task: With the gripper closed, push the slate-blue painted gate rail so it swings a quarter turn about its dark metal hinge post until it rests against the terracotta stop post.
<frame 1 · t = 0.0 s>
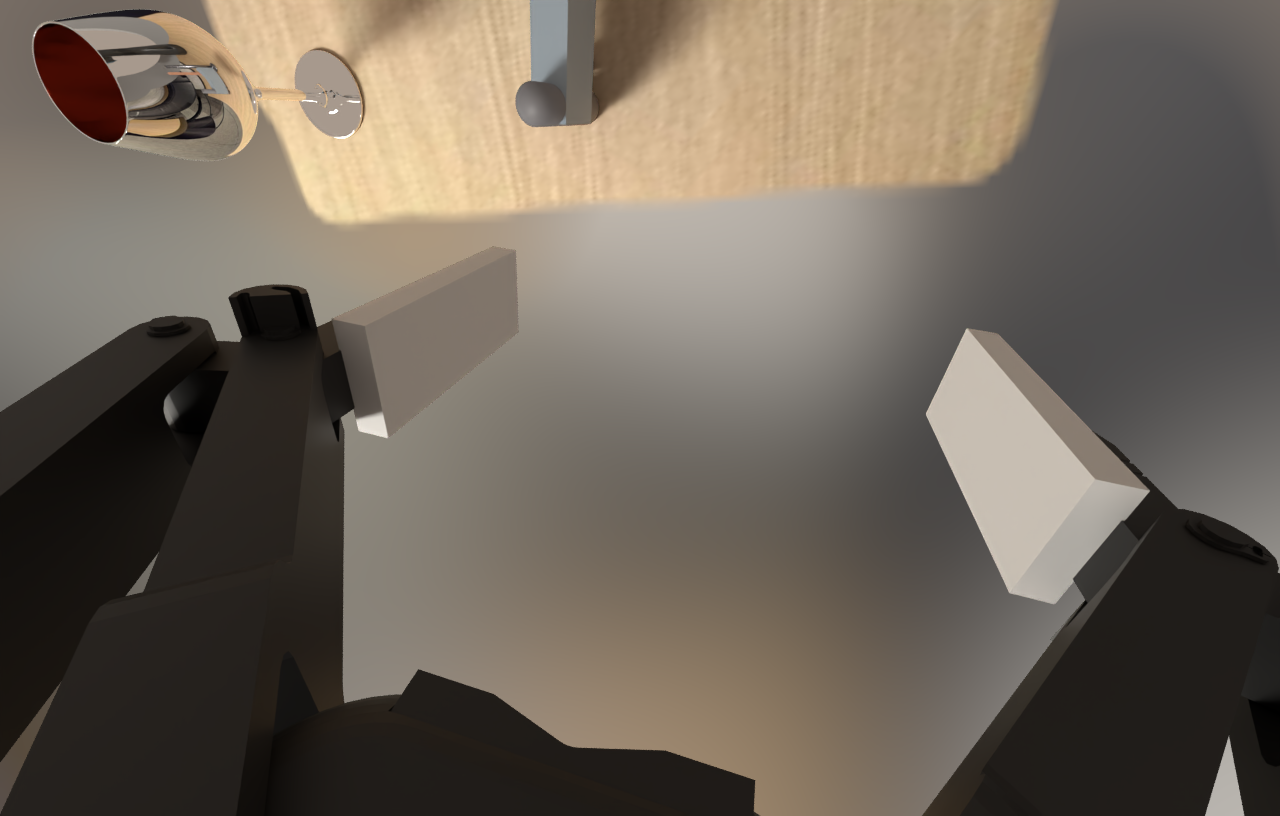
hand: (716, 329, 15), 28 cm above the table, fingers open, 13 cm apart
wineglass: (331, 96, 43), on the table
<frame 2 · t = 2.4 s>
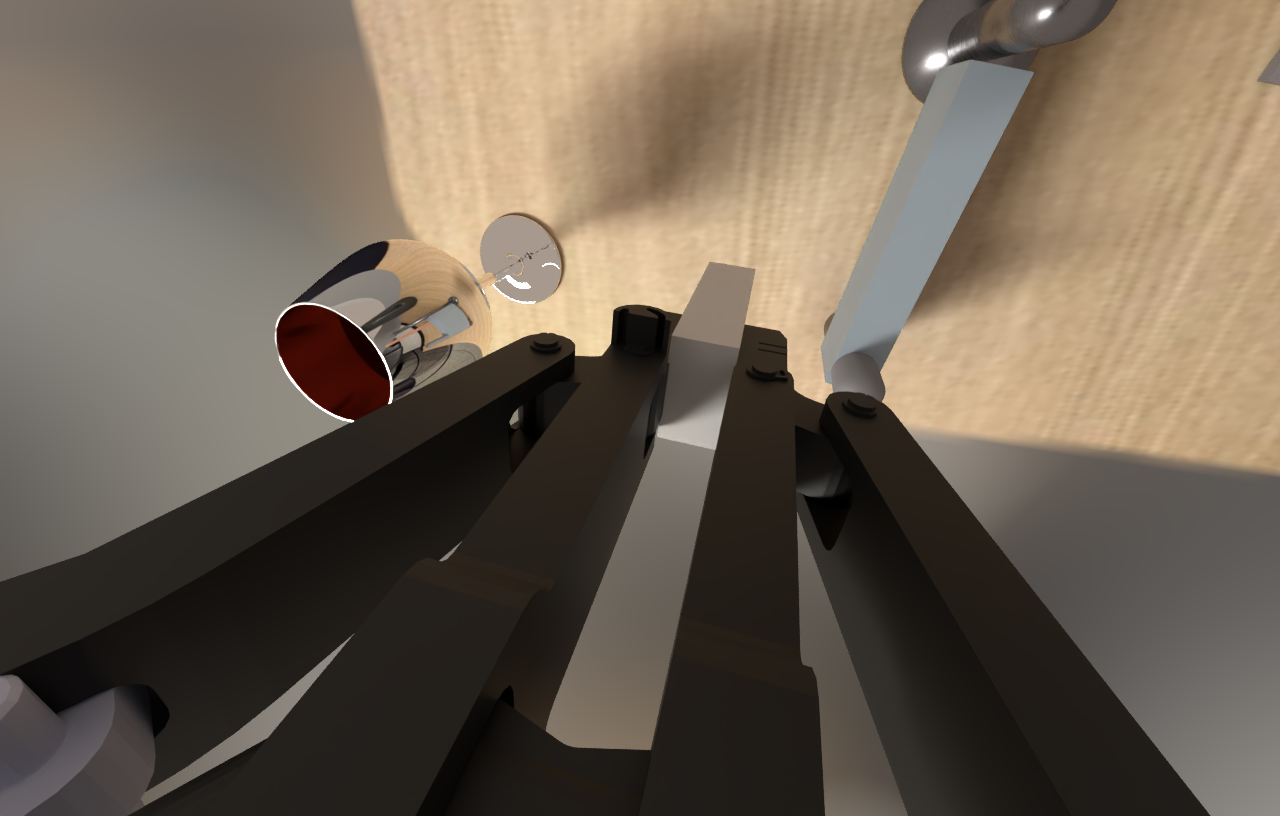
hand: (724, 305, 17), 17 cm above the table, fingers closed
hinge post: (969, 39, 24), on the table
wineglass: (522, 260, 37), on the table
gate: (901, 246, 25), point 5 cm above the table, hinge at 0.0°
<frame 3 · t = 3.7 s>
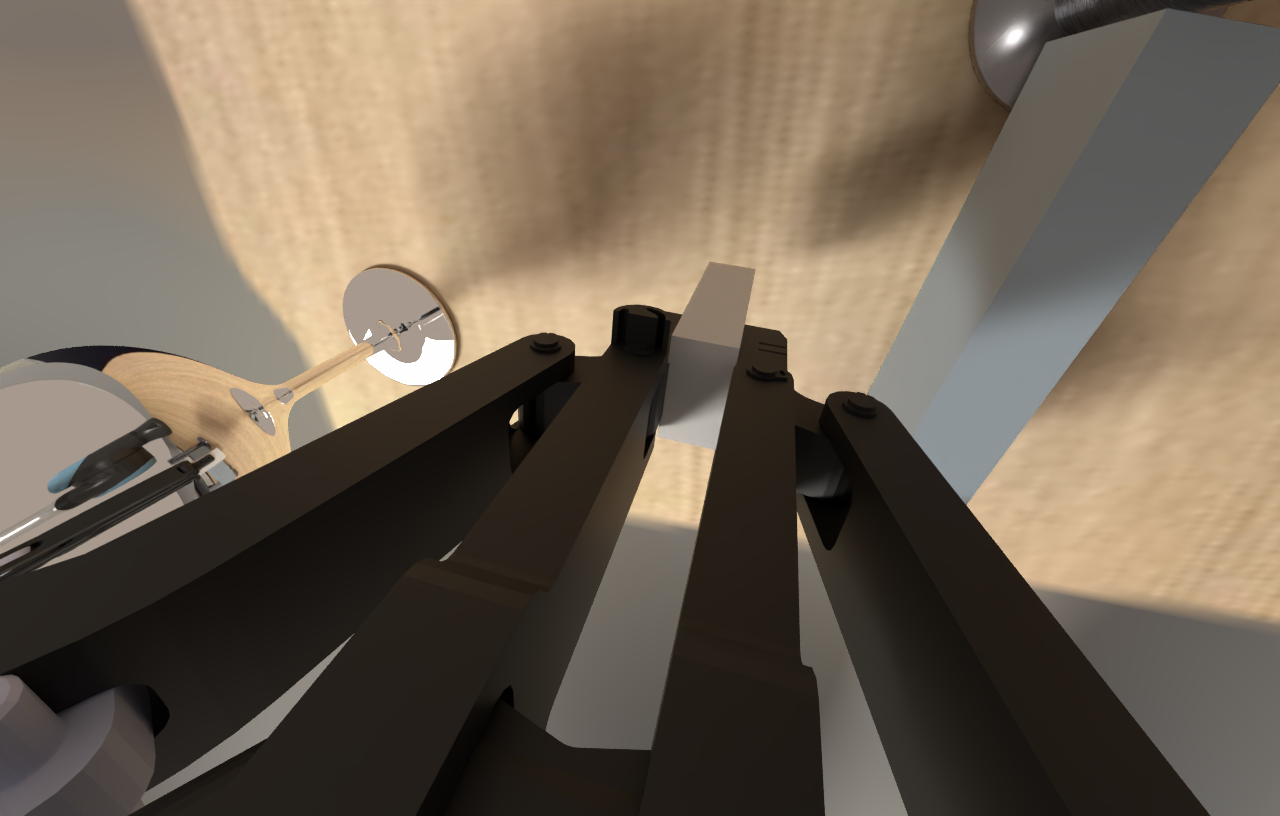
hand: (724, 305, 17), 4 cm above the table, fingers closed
wineglass: (403, 328, 26), on the table
gate: (971, 351, 15), point 5 cm above the table, hinge at 0.0°
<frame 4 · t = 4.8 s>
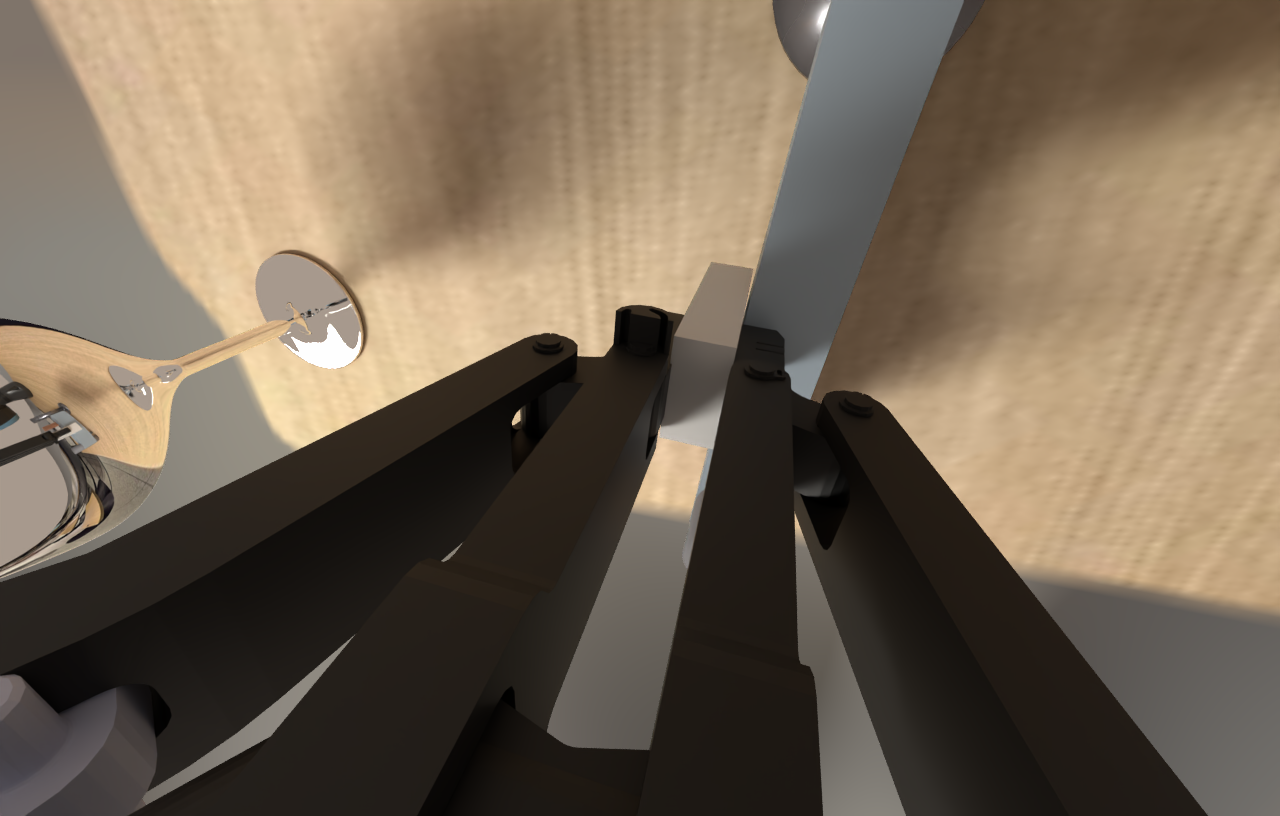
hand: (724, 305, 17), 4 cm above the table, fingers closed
wineglass: (314, 312, 27), on the table
gate: (784, 316, 16), point 5 cm above the table, hinge at 1.5°, touching gripper
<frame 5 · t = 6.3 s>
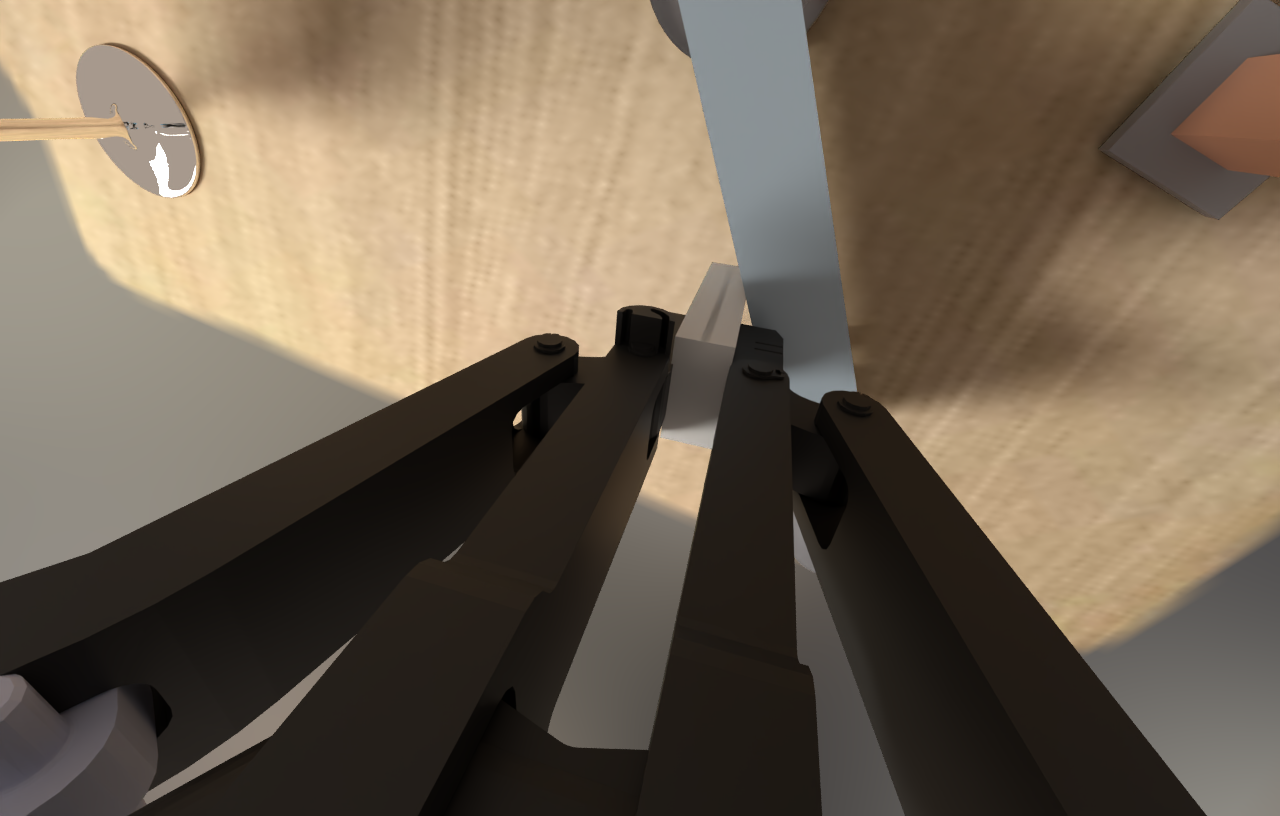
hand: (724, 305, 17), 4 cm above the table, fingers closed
stop post: (1222, 116, 14), on the table
wineglass: (146, 126, 24), on the table
gate: (795, 282, 15), point 5 cm above the table, hinge at 45.3°, touching gripper
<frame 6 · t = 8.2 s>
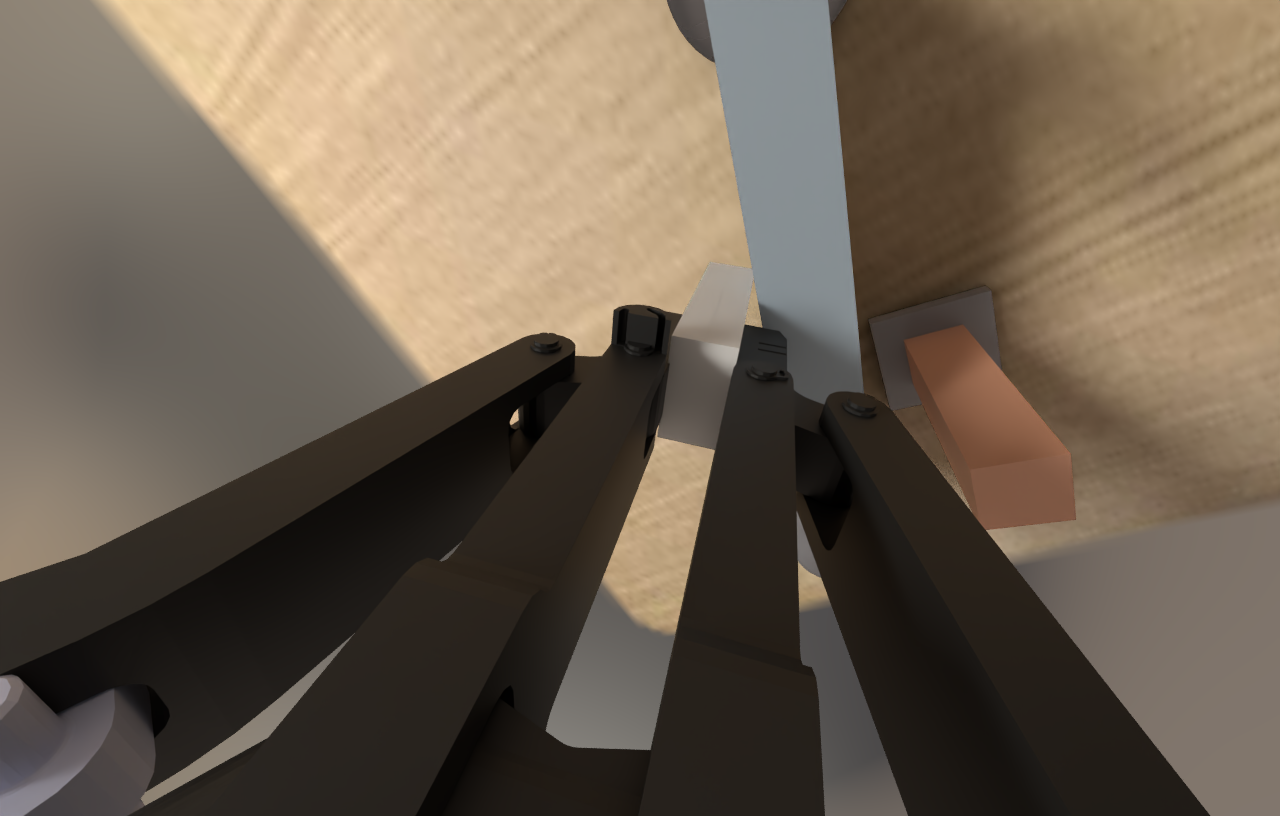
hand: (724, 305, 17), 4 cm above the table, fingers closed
stop post: (933, 349, 20), on the table
gate: (804, 286, 15), point 5 cm above the table, hinge at 82.5°
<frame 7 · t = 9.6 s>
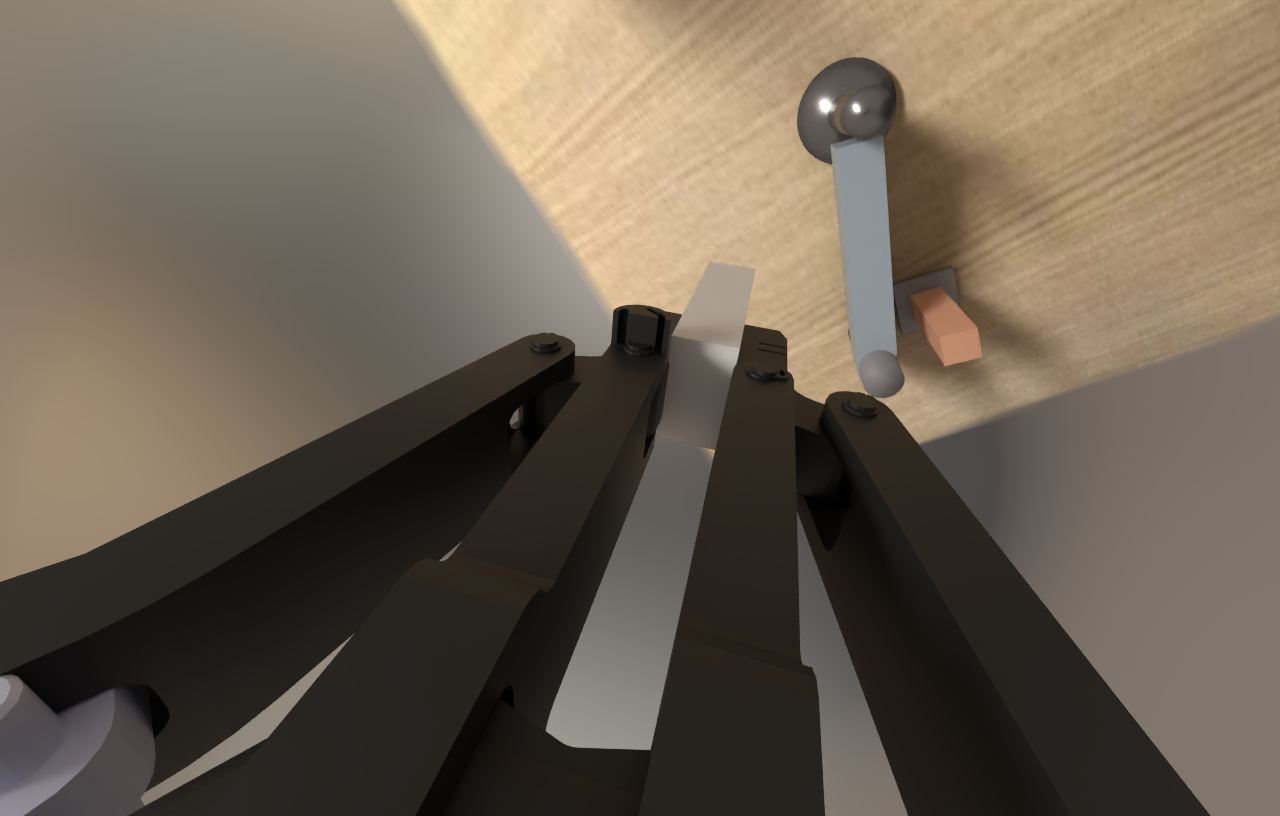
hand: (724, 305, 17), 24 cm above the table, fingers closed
hinge post: (844, 113, 33), on the table
stop post: (925, 300, 38), on the table
gate: (865, 265, 33), point 5 cm above the table, hinge at 82.5°
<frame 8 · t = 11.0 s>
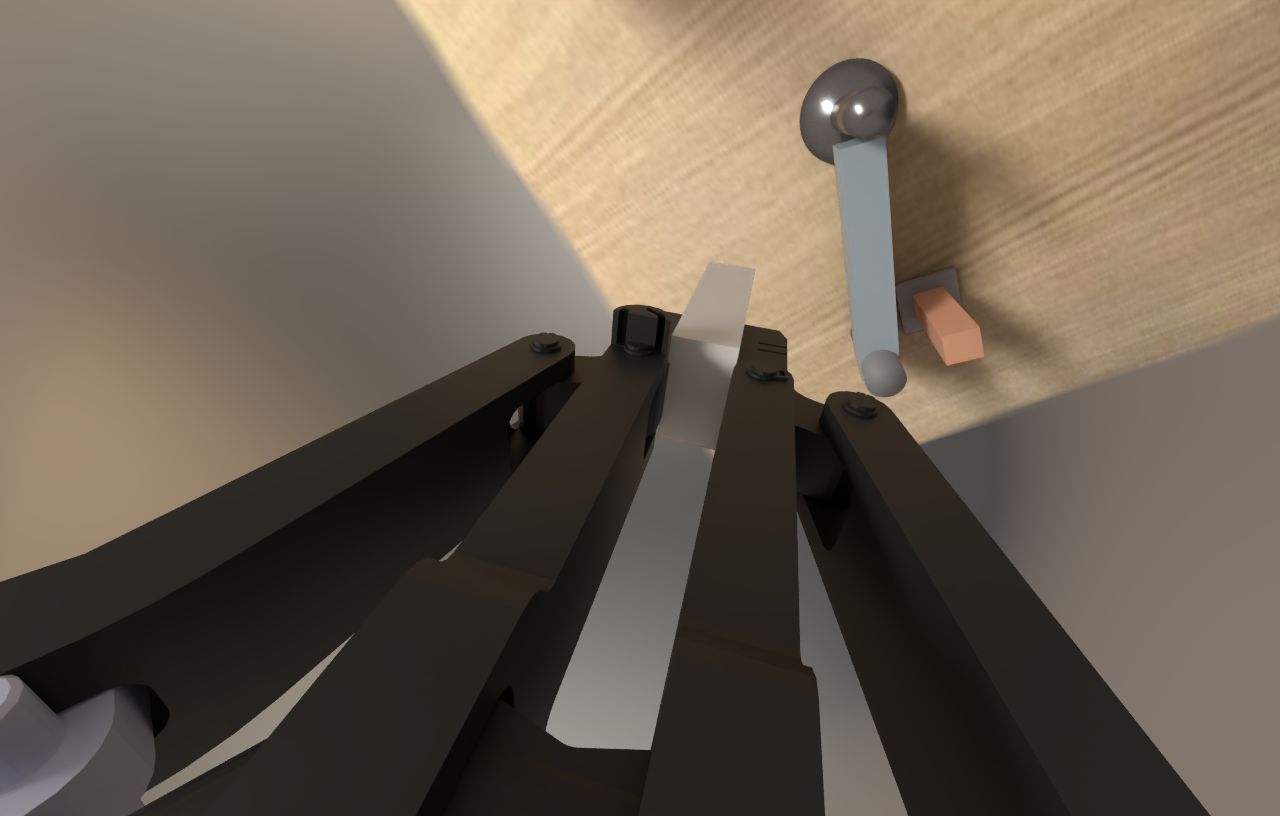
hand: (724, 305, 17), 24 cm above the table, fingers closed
hinge post: (846, 113, 33), on the table
stop post: (927, 300, 38), on the table
gate: (868, 265, 33), point 5 cm above the table, hinge at 82.5°
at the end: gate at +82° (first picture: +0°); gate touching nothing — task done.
